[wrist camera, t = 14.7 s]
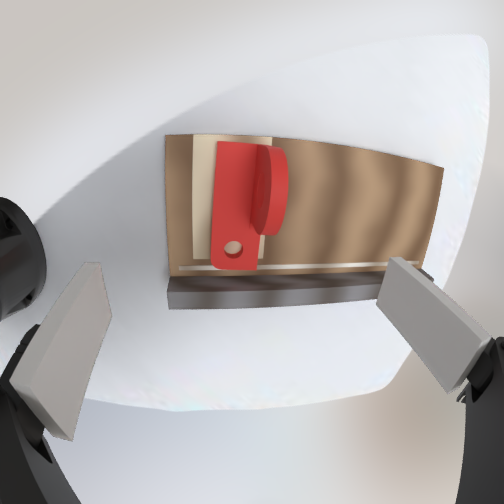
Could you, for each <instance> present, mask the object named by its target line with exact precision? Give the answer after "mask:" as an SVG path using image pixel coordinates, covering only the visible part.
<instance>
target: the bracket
mask: <svg viewBox="0 0 504 504" xmlns="http://www.w3.org/2000/svg"><path fill="white" fill-rule="evenodd" d="M287 197H288V165H287V159H286V155H285V152H284V151H283V149H282V148H279V147H275V146H270V145H263V144H253V143H241V142H227V141H217V153H216V166H215V180H214V195H213V212H212V231H211V254H210V255H211V263H212V265H213V266H214V267H215V268H217V269H220V270H257V262H258V253H259V244H260V236H261V235H276V234H277V233H278V232H279V230H280V228H281V225H282V222H283V219H284V215H285V211H286V205H287ZM231 241H237V242H239V243H240V244H241V245H242V247H241V249H240V251H239V252H237V253H235V254H230V253H227V252H226V251H225V250H224V247H225V246H226V244H227V243H229V242H231Z"/></svg>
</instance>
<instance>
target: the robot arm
mask: <svg viewBox="0 0 504 504" xmlns="http://www.w3.org/2000/svg"><path fill="white" fill-rule="evenodd" d="M45 278H46V262H45V255H44V251H43V247H42V244H41V241H40V238H39V236H38V233H37V231H36V229H35V227H34V226H33V224H32V222H31V221H30V219H29V218H28V216H27V215H26V214H25V212H24V211H23V210H22V209H21V208H20V207H19V206H18V205H16V204H15V203H13V202H12V201H11V200H9V199H6V198H3V197H0V322H1V321H2V320H3V319H5V318H7V317H9V316H11V315H13V314H15V313H17V312H19V311H21V310H23V309H25V308H26V307H28V306H29V305H30V304H31V303H32V302H33V301H34V300H35V299H36V297H37V296H38V295H39V294H40V292H41V290H42V289H43V286H44V283H45ZM376 305H377V306H378V307H379V309H380V310H381V311H382V312H383V313H384V314H385V316H386V317H387V318H388V319H389V320H390V322H391V323H392V324H393V325H394V326H395V328H396V329H397V330H398V331H399V332H400V334H401V335H402V336H403V337H404V339H405V340H406V341H407V342H408V343H409V345H410V346H411V347H412V348H413V350H414V351H415V352H416V353H417V355H418V356H419V357H420V358H421V360H422V361H423V362H424V364H425V365H426V366H427V367H428V369H429V370H430V371H431V373H432V374H433V375H434V377H435V378H436V379H437V381H438V382H439V383H440V385H441V386H442V387H443V389H444V390H445V391H446V393H447V394H449V393H451V392H453V391H455V390H457V389H458V388H459V387H460V386H461V384H462V383H463V382H464V380H465V379H466V378H467V379H468V380H469V383H468V384H467V385H466V387H465V388H464V389H463V391H462V392H461V393H460V395H459V396H458V397H457V402H459V400H460V399H461V398H462V397H463V396H464V395H466V396H465V397H464V398H463V400H462V401H461V402H462V403H466V424H465V442H464V454H463V463H462V470H461V478H460V483H459V489H458V494H457V499H456V503H455V504H504V337H498V338H497V339H496V340H494V339H493V338H492V336H491V335H490V334H489V333H488V332H487V331H486V330H485V329H484V328H483V327H482V326H480V324H479V323H478V322H476V320H475V319H473V318H472V317H471V316H470V315H469V314H468V313H467V312H466V311H465V310H464V309H463V308H461V307H460V306H459V305H458V304H457V303H456V302H455V301H454V300H453V299H451V298H450V297H449V296H448V295H447V294H446V293H445V292H443V291H442V290H441V289H440V288H439V287H438V286H436V285H435V284H434V283H433V282H432V281H430V280H429V279H428V278H427V277H426V276H424V275H423V274H422V273H421V272H419V271H418V270H417V269H416V268H414V267H413V266H412V265H411V264H409V263H408V262H407V261H406V260H404V259H403V258H402V257H389V261H388V265H387V268H386V272H385V276H384V279H383V282H382V286H381V289H380V292H379V296H378V299H377V302H376ZM111 318H112V313H111V310H110V306H109V302H108V298H107V293H106V289H105V285H104V280H103V275H102V270H101V265H100V263H84V264H83V265H82V266H81V268H80V269H79V270H78V272H77V273H76V274H75V276H74V277H73V278H72V280H71V281H70V282H69V284H68V285H67V287H66V288H65V289H64V291H63V292H62V294H61V295H60V296H59V298H58V299H57V301H56V302H55V304H54V305H53V307H52V308H51V310H50V311H49V313H48V314H47V316H46V317H45V319H44V320H43V322H42V324H41V325H38V324H36V325H35V326H33V327H32V328H31V329H30V330H29V331H28V332H26V334H25V335H24V337H23V339H22V340H21V342H20V345H18V347H17V349H16V350H15V353H14V354H13V355H12V357H11V359H10V361H9V362H8V364H7V366H6V368H5V370H4V372H3V374H2V375H1V377H0V504H81V502H80V501H79V499H78V498H77V496H76V494H75V493H74V492H73V490H72V488H71V486H70V485H69V483H68V481H67V480H66V478H65V476H64V474H63V472H62V471H61V469H60V467H59V465H58V463H57V461H56V459H55V457H54V455H53V453H52V451H51V449H50V447H49V445H48V442H47V441H46V439H45V437H44V436H43V431H44V428H46V429H47V430H48V431H49V432H50V434H51V435H52V436H53V437H57V438H61V439H64V440H68V441H73V437H74V432H75V429H76V425H77V421H78V417H79V413H80V410H81V406H82V402H83V399H84V395H85V392H86V389H87V386H88V382H89V379H90V376H91V373H92V370H93V367H94V364H95V361H96V358H97V355H98V353H99V350H100V347H101V344H102V341H103V339H104V336H105V333H106V331H107V328H108V326H109V323H110V321H111Z"/></svg>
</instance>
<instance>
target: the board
mask: <svg viewBox="0 0 504 504" xmlns="http://www.w3.org/2000/svg"><path fill="white" fill-rule="evenodd" d="M217 141H227V142H241V143H253V144H263V145H270V146H275V147H279V148H282V149H283V151H284V152H285V155H286V159H287V165H288V197H287V205H286V211H285V215H284V219H283V222H282V225H281V228H280V230H279V232H278V233H277V234H276V235H261V236H260V244H259V253H258V262H257V270H220V269H217V268H215V267H214V266H213V265H212V263H211V255H210V254H211V231H212V212H213V195H214V180H215V166H216V153H217ZM443 172H444V168H442V167H438V166H435V165H431V164H428V163H424V162H420V161H416V160H412V159H408V158H404V157H400V156H395V155H391V154H386V153H381V152H376V151H371V150H366V149H360V148H355V147H349V146H343V145H336V144H329V143H322V142H314V141H306V140H297V139H287V138H276V137H262V136H245V135H212V134H190V135H166V141H165V192H166V222H167V241H168V256H169V268H170V280H169V284H168V289H167V298H168V307H169V309H236V308H263V307H283V306H299V305H314V304H327V303H339V302H350V301H361V300H370V299H378V296H379V292H380V289H381V286H382V282H383V279H384V276H385V272H386V268H387V265H388V261H389V257H402V258H403V259H404V260H406V261H407V262H408V263H409V264H411V265H412V266H413V267H414V268H416V269H417V270H418V271H419V272H421V273H422V274H423V275H424V276H426V277H427V278H428V279H429V280H430V281H432V282H433V281H434V279H433V278H432V277H431V276H430V275H429V274H427V273H426V272H425V271H424V270H422V269H421V267H422V264H423V261H424V258H425V254H426V251H427V247H428V243H429V240H430V236H431V232H432V228H433V224H434V220H435V215H436V211H437V206H438V201H439V196H440V190H441V185H442V179H443ZM241 247H242V245H241V244H240V243H239V242H237V241H231V242H229V243H227V244H226V246H225V247H224V250H225V251H226V252H227V253H230V254H235V253H237V252H239V251H240V249H241Z"/></svg>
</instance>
